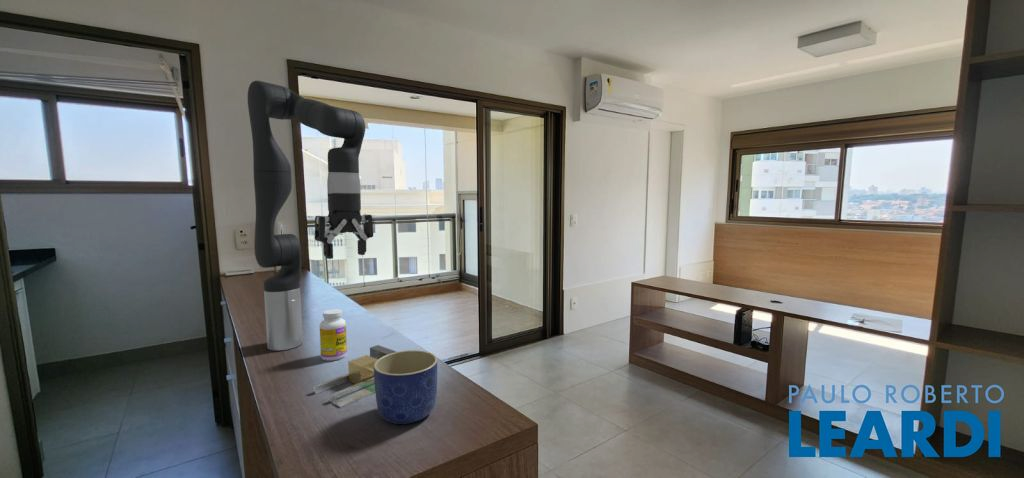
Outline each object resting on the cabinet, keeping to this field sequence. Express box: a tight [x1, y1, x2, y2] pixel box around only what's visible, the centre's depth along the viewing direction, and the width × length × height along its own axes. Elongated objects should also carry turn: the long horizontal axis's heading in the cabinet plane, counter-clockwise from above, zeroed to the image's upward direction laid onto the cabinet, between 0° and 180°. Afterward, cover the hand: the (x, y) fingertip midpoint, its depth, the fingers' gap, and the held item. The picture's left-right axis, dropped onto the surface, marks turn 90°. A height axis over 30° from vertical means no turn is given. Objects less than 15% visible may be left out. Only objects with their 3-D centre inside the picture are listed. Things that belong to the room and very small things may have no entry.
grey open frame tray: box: [312, 344, 397, 408], centre depth 93 cm, size 11×17×6 cm, turn 143°
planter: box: [374, 349, 438, 425], centre depth 81 cm, size 12×12×11 cm
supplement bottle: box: [319, 308, 348, 362], centre depth 110 cm, size 7×7×13 cm
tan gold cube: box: [347, 354, 378, 385], centre depth 94 cm, size 8×5×5 cm, turn 54°
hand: (345, 256), depth 100 cm, fingers open, 8 cm apart
